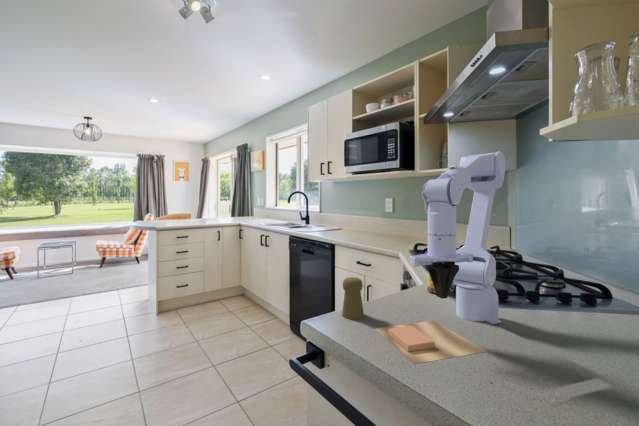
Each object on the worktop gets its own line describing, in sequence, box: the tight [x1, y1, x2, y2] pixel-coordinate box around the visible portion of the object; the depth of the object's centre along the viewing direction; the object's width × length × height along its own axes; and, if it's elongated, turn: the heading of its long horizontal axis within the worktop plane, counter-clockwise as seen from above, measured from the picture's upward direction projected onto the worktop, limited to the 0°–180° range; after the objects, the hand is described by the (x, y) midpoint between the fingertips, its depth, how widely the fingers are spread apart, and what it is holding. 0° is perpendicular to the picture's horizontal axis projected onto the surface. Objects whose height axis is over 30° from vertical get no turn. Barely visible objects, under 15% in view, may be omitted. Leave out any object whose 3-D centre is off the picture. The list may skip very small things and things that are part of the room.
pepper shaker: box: [341, 276, 365, 321], centre depth 77 cm, size 6×6×11 cm
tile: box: [388, 326, 435, 352], centre depth 62 cm, size 1×8×6 cm
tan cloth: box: [375, 320, 487, 365], centre depth 63 cm, size 16×16×1 cm
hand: (441, 296), depth 64 cm, fingers closed
